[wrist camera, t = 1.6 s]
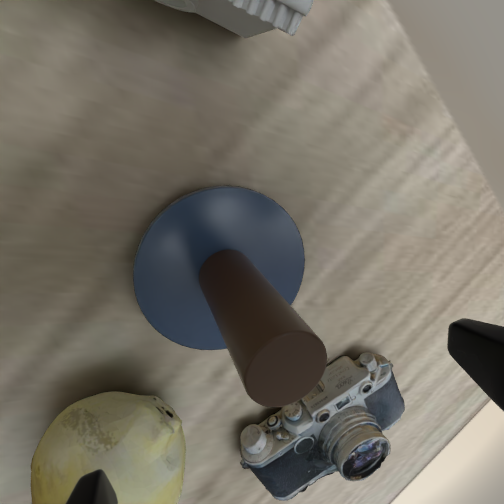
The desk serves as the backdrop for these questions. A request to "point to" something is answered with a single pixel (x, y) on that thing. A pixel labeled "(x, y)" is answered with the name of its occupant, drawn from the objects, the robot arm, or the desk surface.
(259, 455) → the camera
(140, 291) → the lid
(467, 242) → the desk surface
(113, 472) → the fruit
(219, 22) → the grey ridged-top pillar
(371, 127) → the desk surface
